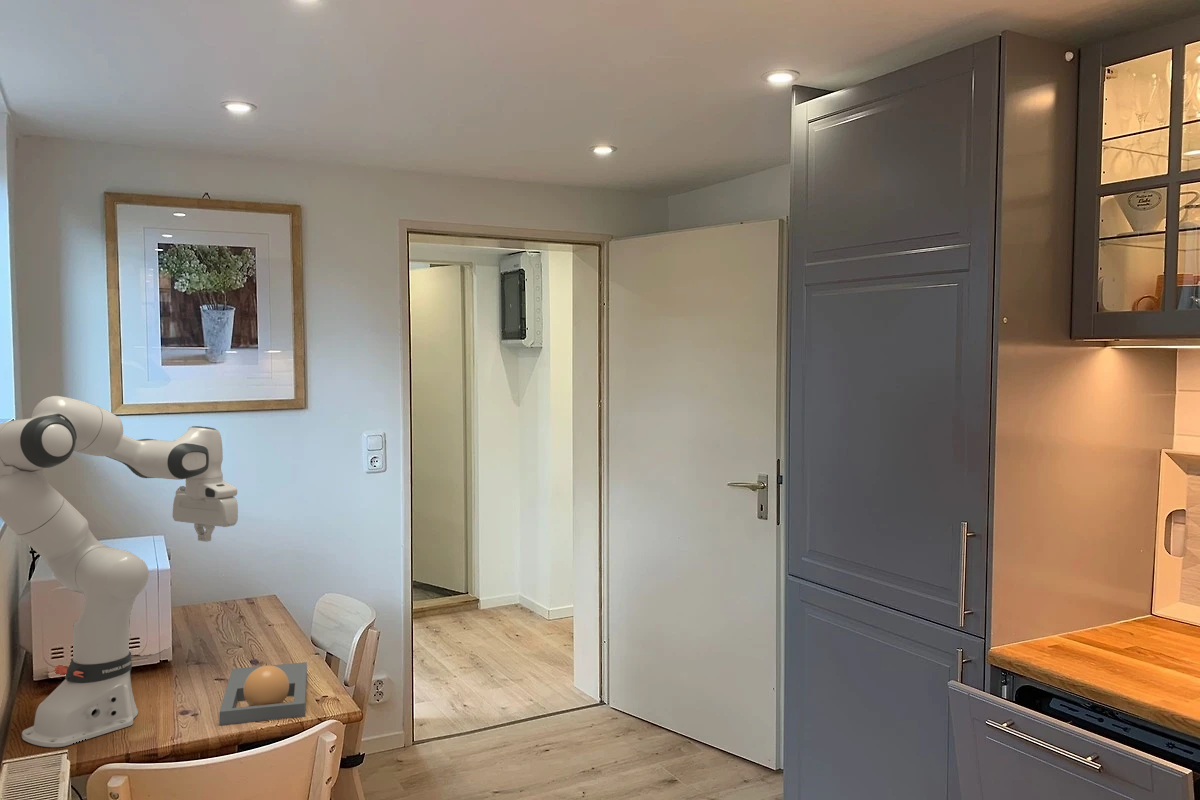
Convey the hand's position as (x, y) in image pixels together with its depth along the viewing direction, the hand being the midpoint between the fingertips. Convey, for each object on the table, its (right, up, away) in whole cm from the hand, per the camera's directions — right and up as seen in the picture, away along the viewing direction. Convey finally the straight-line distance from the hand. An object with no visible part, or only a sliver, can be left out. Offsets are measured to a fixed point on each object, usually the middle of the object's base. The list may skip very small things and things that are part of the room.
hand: (204, 540), depth 228 cm
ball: (+26, -30, -25) cm, 47 cm away
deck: (+23, -35, -17) cm, 45 cm away
